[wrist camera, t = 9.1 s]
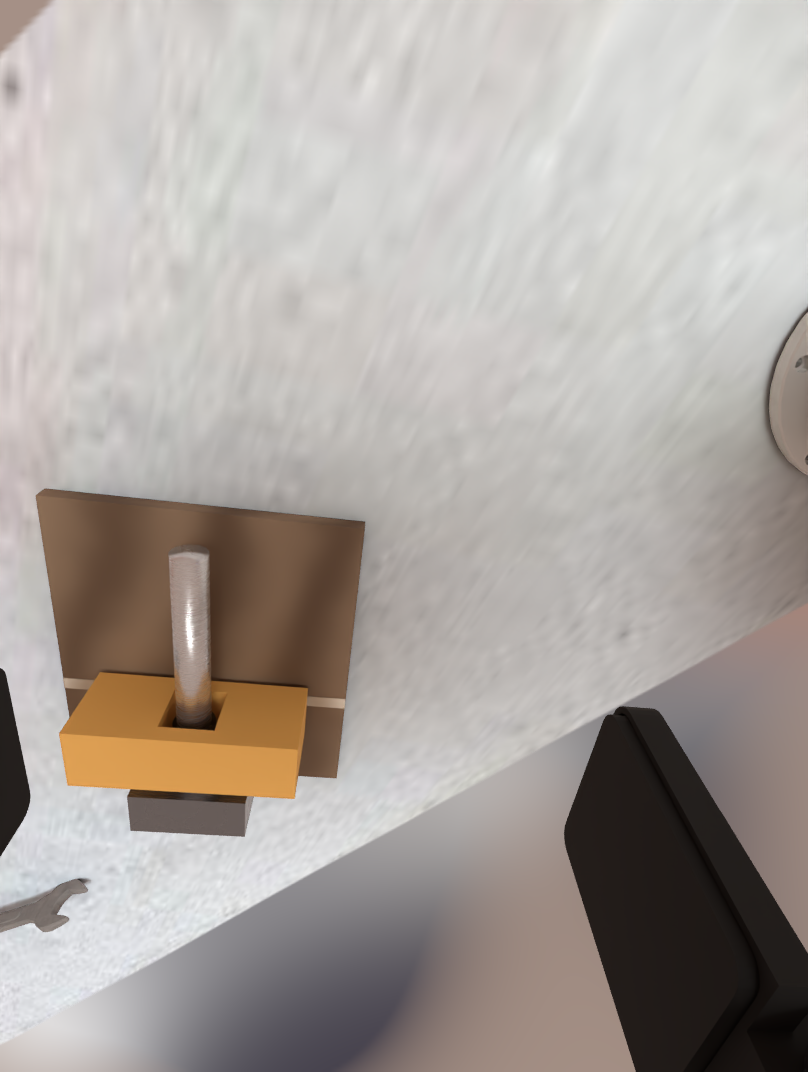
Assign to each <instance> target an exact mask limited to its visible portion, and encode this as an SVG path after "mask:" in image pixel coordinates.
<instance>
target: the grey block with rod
mask: <svg viewBox="0 0 808 1072" xmlns="http://www.w3.org/2000/svg"><path fill="white" fill-rule="evenodd" d="M168 556H169V576H170V597H171V617H172V637H173V658H174V678H175V699H176V717H175V718H174V720H173V723H172V728H183V729H198V730H212V731H215V728H216V716H215V714H214V713H213V712H212V699H211V631H210V563H209V550H208V549H207V548H205V547H203V546H200V545H192V544H189V545H181V546H177V547H175V548H173V549H171V550H170V551H169V553H168ZM253 798H254V796H238V795H221V794H204V793H187V792H170V791H153V790H137V789H131V790H130V792H129V794H128V796H127V800H128V809H129V819H130V828H131V831H148V832H167V833H186V834H205V835H223V836H242V837H245V833H246V828H247V824H248V820H249V815H250V811H251V807H252V802H253Z"/></svg>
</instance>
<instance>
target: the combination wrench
mask: <svg viewBox="0 0 808 1072" xmlns="http://www.w3.org/2000/svg"><path fill="white" fill-rule="evenodd" d="M87 891H88V889H87V887H86V886H85V885H84V884H83V883H82V882H81V881H79V880H78V879H74V880H71V881H68V882H65V883H62V884H61V885H59V886H58V887H57V888H56V889H55V890H54V891H53V892H52V893H50V894H49V895H47V896H46V897H44V898H42V899H41V900H39V901H37V902H36V903H32V904H29V905H26V906H23V907H20V908H16V909H13V910H10V911H7V912H4V913H0V932H3V931H6V930H9V929H13V928H16V927H19V926H22V925H25V924H28V923H35V925H36V926H37V927H38V928H39V929H40V930H41V931H43V932H49V931H53V930H54V929H56V928H58V927H60V926H62V925H63V924H65V923H66V922H68V921H69V918H68V917H66V916H63V915H57V913H58V911H59V910H60V908H61V906H62V905H63V904H64V902H65V901H66V900H67V899H68V898H69V897H70V896H71V895H72V894H80V893H85V892H87Z"/></svg>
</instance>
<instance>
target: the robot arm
mask: <svg viewBox="0 0 808 1072" xmlns="http://www.w3.org/2000/svg"><path fill="white" fill-rule="evenodd" d="M769 415H770V422H771V430H772V432H773V435H774V437H775V440H776V443H777V445H778V447H779V449H780V450H781V452H782V453H783V454H784V456H785V457H786V459H787V460H788V461H789V462H790V463H791V464H792V465H793V466H795V467H796V468H797V469H798V470H799V471H801V472H802V473H804V474H806V475H808V312H807V313H806V314H805V316H804V317H803V318H802V319H801V321H800V322H799V324H798V325H797V327H796V328H795V330H794V332H793V333H792V335H791V336H790V338H789V339H788V341H787V343H786V345H785V347H784V349H783V352H782V354H781V356H780V358H779V361H778V363H777V365H776V369H775V373H774V377H773V380H772V384H771V388H770V401H769ZM29 803H30V789H29V784H28V779H27V775H26V770H25V765H24V760H23V755H22V750H21V746H20V741H19V736H18V731H17V726H16V721H15V716H14V712H13V707H12V702H11V697H10V692H9V687H8V683H7V678H6V674H5V672H4V670H3V669H1V668H0V856H1V855H2V853H3V851H4V850H5V848H6V847H7V845H8V843H9V842H10V840H11V839H12V837H13V835H14V834H15V832H16V831H17V829H18V828H19V826H20V824H21V823H22V821H23V819H24V817H25V816H26V813H27V810H28V807H29ZM564 839H565V845H566V850H567V853H568V856H569V860H570V863H571V866H572V869H573V872H574V875H575V879H576V882H577V885H578V888H579V892H580V895H581V898H582V901H583V904H584V907H585V911H586V913H587V917H588V920H589V923H590V927H591V930H592V933H593V936H594V939H595V942H596V946H597V949H598V952H599V955H600V958H601V962H602V965H603V968H604V971H605V974H606V977H607V981H608V984H609V987H610V990H611V994H612V997H613V999H614V1003H615V1006H616V1009H617V1013H618V1016H619V1019H620V1022H621V1025H622V1029H623V1032H624V1035H625V1038H626V1041H627V1045H628V1048H629V1051H630V1054H631V1057H632V1060H633V1063H634V1067H635V1070H636V1072H808V953H807V952H806V950H805V948H804V947H803V945H802V943H801V942H800V940H799V938H798V937H797V935H796V933H795V932H794V930H793V928H792V927H791V925H790V924H789V922H788V920H787V919H786V917H785V915H784V914H783V912H782V911H781V909H780V907H779V906H778V904H777V902H776V901H775V899H774V898H773V896H772V894H771V893H770V891H769V889H768V888H767V886H766V884H765V883H764V881H763V879H762V878H761V877H760V875H759V873H758V871H757V870H756V868H755V867H754V865H753V863H752V861H751V860H750V858H749V857H748V855H747V853H746V852H745V850H744V848H743V847H742V845H741V843H740V842H739V840H738V839H737V837H736V835H735V834H734V832H733V830H732V829H731V827H730V825H729V824H728V822H727V821H726V819H725V817H724V816H723V814H722V813H721V811H720V810H719V808H718V807H717V805H716V803H715V802H714V800H713V798H712V797H711V795H710V793H709V792H708V790H707V788H706V787H705V785H704V784H703V782H702V780H701V779H700V777H699V775H698V774H697V772H696V771H695V769H694V767H693V766H692V764H691V762H690V761H689V759H688V757H687V756H686V754H685V752H684V751H683V749H682V747H681V746H680V744H679V743H678V741H677V740H676V738H675V736H674V734H673V733H672V731H671V729H670V728H669V726H668V725H667V723H666V721H665V720H664V718H663V717H662V715H661V714H660V713H659V712H658V711H657V710H655V709H650V708H637V707H624V706H623V707H619V708H617V709H616V710H615V713H614V714H613V715H607V716H606V717H605V719H604V721H603V723H602V726H601V729H600V731H599V734H598V737H597V740H596V742H595V746H594V748H593V751H592V753H591V756H590V759H589V761H588V764H587V767H586V770H585V772H584V775H583V778H582V780H581V783H580V786H579V789H578V792H577V794H576V797H575V800H574V802H573V805H572V808H571V810H570V813H569V816H568V818H567V821H566V825H565V830H564Z"/></svg>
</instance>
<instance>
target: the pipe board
mask: <svg viewBox="0 0 808 1072" xmlns="http://www.w3.org/2000/svg"><path fill="white" fill-rule="evenodd" d="M36 501H37V507H38V514H39V521H40V527H41V534H42V540H43V547H44V553H45V560H46V566H47V573H48V579H49V586H50V592H51V599H52V605H53V612H54V619H55V625H56V632H57V638H58V645H59V651H60V658H61V664H62V671H63V677H64V678H63V680H64V687H65V690H66V697H67V703H68V710H69V717H71V715H72V714H73V712H74V711H75V709H76V708H77V706H78V705H79V703H80V702H81V700H82V699H83V697H84V696H85V694H86V693H87V691H88V690H89V688H90V687H91V685H92V684H93V682H94V681H95V679H96V678H97V676H98V675H99V673H100V672H104V673H117V674H130V675H143V676H156V677H169V678H174V658H173V637H172V617H171V597H170V576H169V556H168V553H169V551H170V550H171V549H173V548H175V547H177V546H181V545H189V544H192V545H200V546H203V547H205V548H207V549H208V550H209V563H210V631H211V681H221V682H234V683H247V684H260V685H273V686H286V687H299V688H308V694H307V708H306V721H305V734H304V740H303V747H302V753H301V760H300V766H299V773H298V776H310V777H325V778H337V769H338V760H339V751H340V742H341V734H342V725H343V716H344V707H345V698H346V690H347V681H348V672H349V663H350V654H351V645H352V637H353V628H354V619H355V610H356V601H357V593H358V584H359V575H360V566H361V557H362V549H363V540H364V531H365V522H361V521H352V520H342V519H332V518H323V517H313V516H303V515H294V514H284V513H275V512H265V511H255V510H246V509H236V508H226V507H217V506H207V505H197V504H188V503H178V502H169V501H159V500H149V499H140V498H130V497H120V496H111V495H101V494H91V493H82V492H72V491H62V490H53V489H44V490H43V491H41V492H40V493H38V494H37V495H36Z"/></svg>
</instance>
